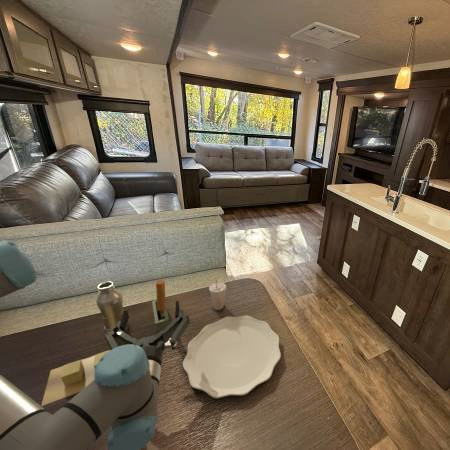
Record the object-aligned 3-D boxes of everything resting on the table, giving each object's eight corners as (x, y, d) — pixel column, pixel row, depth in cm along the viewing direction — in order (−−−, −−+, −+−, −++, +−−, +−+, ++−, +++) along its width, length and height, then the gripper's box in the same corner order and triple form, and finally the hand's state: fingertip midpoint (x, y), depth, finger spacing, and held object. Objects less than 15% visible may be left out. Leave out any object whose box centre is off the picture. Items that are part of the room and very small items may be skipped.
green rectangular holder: (154, 313, 92) (151, 300, 90) (166, 310, 95) (164, 297, 92) (157, 337, 83) (155, 323, 81) (170, 332, 85) (168, 319, 83)
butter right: (97, 363, 71) (94, 354, 70) (112, 358, 73) (110, 349, 72) (96, 374, 68) (93, 366, 67) (112, 368, 70) (109, 360, 69)
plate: (205, 427, 60) (205, 421, 60) (172, 345, 81) (172, 339, 80) (297, 364, 78) (298, 358, 77) (252, 309, 99) (252, 305, 98)
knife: (156, 316, 91) (154, 276, 85) (164, 314, 93) (163, 275, 87) (159, 331, 85) (157, 289, 79) (167, 329, 87) (166, 287, 81)
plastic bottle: (108, 329, 84) (94, 281, 76) (131, 324, 87) (120, 277, 79) (103, 344, 79) (88, 293, 71) (129, 338, 82) (116, 289, 74)
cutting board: (52, 373, 69) (50, 370, 68) (129, 347, 79) (128, 344, 78) (42, 410, 61) (40, 406, 60) (130, 376, 70) (129, 372, 70)
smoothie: (206, 308, 97) (204, 278, 92) (218, 299, 103) (217, 270, 97) (218, 314, 95) (217, 284, 89) (230, 305, 100) (229, 276, 95)
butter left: (67, 374, 68) (63, 365, 67) (84, 368, 70) (80, 359, 68) (64, 386, 65) (60, 377, 63) (82, 379, 67) (79, 371, 65)
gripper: (79, 399, 54) (105, 328, 72) (201, 365, 64) (197, 309, 82) (70, 376, 51) (99, 308, 69) (199, 344, 61) (196, 291, 79)
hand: (153, 308), depth 75 cm, fingers open, 13 cm apart
